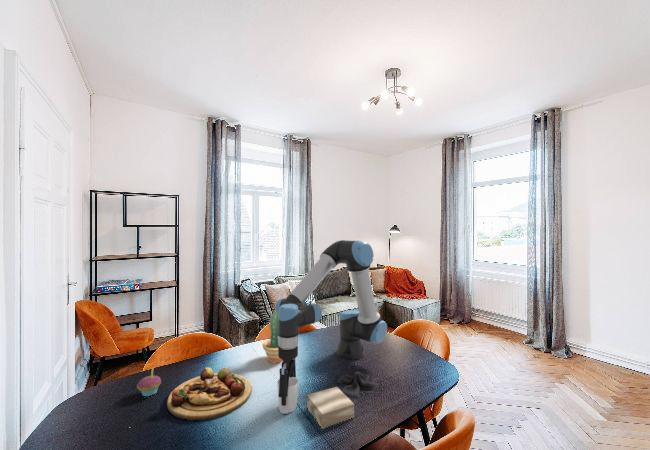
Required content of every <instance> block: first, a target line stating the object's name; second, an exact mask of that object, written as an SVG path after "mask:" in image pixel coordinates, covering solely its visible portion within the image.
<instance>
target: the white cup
mask: <svg viewBox="0 0 650 450" xmlns="http://www.w3.org/2000/svg"><path fill="white" fill-rule="evenodd" d="M279 382H280V378H279V379H278V380H277V398H278V399H277V400H278V401H277V402H278V410H279V412H281V397H279V396H278V394H279ZM298 392H299V379H298V378H297V377H296V378H295V377H289V385H288V414H290V413H293V412H294V411H296V410H297V408H296V407H298ZM292 411H293V412H292ZM289 412H290V413H289Z"/></svg>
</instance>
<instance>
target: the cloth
mask: <svg viewBox="0 0 650 450" xmlns="http://www.w3.org/2000/svg"><path fill="white" fill-rule="evenodd" d="M370 379H371V376H370V375H369V374H366V373H361V372H360V371H355V372H354V373H353V374H352V375H350V374H343V375H342V376H341V377H339V378H338V380H337V383H343V384H345V385H346V384H347V385H346V386H344V387H342V389H341V391H342V392H343V393H344V394H345V395H346V396H347V397H351V398H354V397H355V398H354V399H360V398H361V395H360V392H361V390H363V391H364V394H366V395H369V394H370V395H371V394H373V393H375V391H373V390H374V389H377V388H378V387H379V386H380V384H379V383H378V382H374V381H369V380H370Z"/></svg>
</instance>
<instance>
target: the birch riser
mask: <svg viewBox="0 0 650 450" xmlns="http://www.w3.org/2000/svg"><path fill="white" fill-rule="evenodd" d="M307 408H308V409H307ZM306 409H307V410H308V411H309V412H311V413H312V414H311V413H310V414H311V415H313V416H314V417H313V418H314V420H315V419H316V420H315V421H316V423H317V422H318V423H317V424H318V425H319V427H320V426H321V427H320V428H321V429H322V430H323V428H324V429H326V428H325V427H327V426H330V425H333V424H335V425H337V424H336V423H338V424H340V423H339V422H341V423H343V422H342V421H344V422H346V421H345V420H347V421H349V420H348V419H350V420H352V419H351V418H353V419H354V418H355V403H354V402H353V401H352V400H351V399H350V398H349V396H346V395H345V394H344V393H343V392H342V389H340V388H339V387H338V386H334V387H330V388H327V389H323V390H319V391H316V392H311V393H309V394H307V395H306ZM333 426H334V425H333ZM330 427H331V426H330ZM327 428H328V427H327Z"/></svg>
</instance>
